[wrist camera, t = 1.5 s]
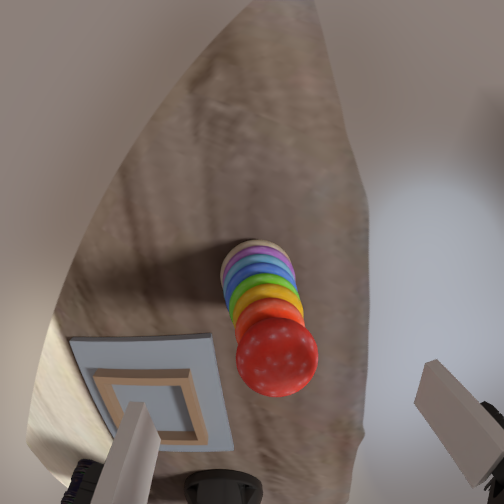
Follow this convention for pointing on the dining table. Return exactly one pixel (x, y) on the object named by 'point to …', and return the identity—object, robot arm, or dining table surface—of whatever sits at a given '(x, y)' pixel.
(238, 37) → the dining table surface
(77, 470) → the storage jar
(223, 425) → the baseplate
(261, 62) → the dining table surface
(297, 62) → the dining table surface
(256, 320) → the stacking toy
